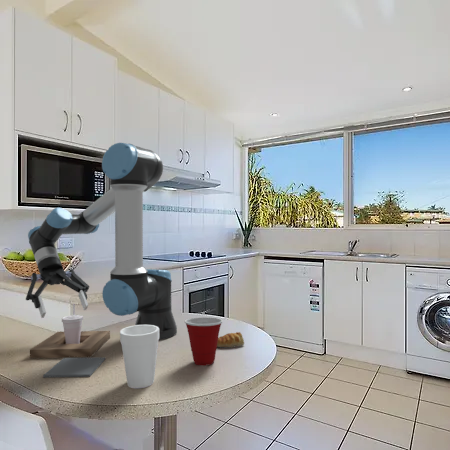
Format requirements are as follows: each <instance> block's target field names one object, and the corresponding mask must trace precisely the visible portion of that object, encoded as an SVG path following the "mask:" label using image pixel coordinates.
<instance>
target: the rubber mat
mask: <svg viewBox="0 0 450 450" xmlns="http://www.w3.org/2000/svg"><path fill="white" fill-rule="evenodd" d="M105 360H106V356H103V357H102V356H101V357H69V358H62V359H60V361H58V362H57V363H56V364H55V365H53V367H51V368H50V369H49V370H48V371H46V372H45V373H44V374H43V375H42V378H89V377H91V376H92V375H93V374H94V372H95V371H97V369H98V368H100V366H101V365H102V363H104V362H105Z"/></svg>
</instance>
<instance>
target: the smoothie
mask: <svg viewBox="0 0 450 450" xmlns="http://www.w3.org/2000/svg"><path fill="white" fill-rule="evenodd" d="M75 307H76V304H75V303H73V304H72V315H71V314H70V315H66V316H63V317H62V318H61V323H62V325H63V326H62V327H63V332H64V333H65V340H66V343H65V344H81V343H80V335H81V331H82V325H83V320H84V315H82V314H76V308H75Z"/></svg>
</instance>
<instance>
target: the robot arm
mask: <svg viewBox="0 0 450 450" xmlns="http://www.w3.org/2000/svg"><path fill="white" fill-rule="evenodd" d="M101 169H102V171H103V173H104V174H105V176H106V177H107V178H109V187H110V189H109V190H108V191H106V192H105V193H103V194H102V195H101V196H100V197H99V198H97V199H96V200H95V201H94V202H92V203H91V205H89V206H88V207H86V209H84V210H83V211H81V213H78V214H76V213H75V214H72V213H71V212H70V211H69V210H67V209H65V208H62V207H54V208H53V209H52V210H51V211H50V213H48V215H46V218H45V219H44V221H43V222H42V224H41V225H37V226H35V227H33V228H32V229H30V230H28V233H27V238H28V242H29V246H30V248H31V251H32V253H33V256H34V257H33V258H34V259H35V263H36V265H37V270H38V272H39V274H37V273H36V272H33V273H31V278H30V285H29V287H28V291H27V294H26V297H25V301H31V303H33V305H34V308H35V309H38V311H39V314H40V317H41V319H43V318H45V316H46V313H47V311H46V309H45V305H44V302H43V298H42V296H41V294H42V293H43V291H44V290H45V289H46V288H47V286H48V285H49V286H54V285H60V284H61V285H63V286H66V287H68V288H70V289H71V290H73V291H75V292H76V293H78V296H77V297H78V298H79V301H80V303H81V306H82V308H83V311H87V309H88V307H89V303H88V300H87V299H88V295H87V292H88V291H89V288H90V285H89V284H88V283H87V282H85V280H83V279H82V278H81V277H80V276H79V275H78V274H76V272H75V271H74V269H72V268H70V270H68V271H65V270H64V268H63V264H62V262H61V259H60V256H59V253H58V250H57V248H56V243H57V241H58V240H59V239H60V238H61V236H62V235H78V234H79V235H81V234H82V235H90V234H93V233H96V232H97V231H98V229H99V228H100V224H101V223H102V222H103V221H104V220H106V219H107V218H108V217H110V216H111V215H113V213H114V228H115V229H114V230H115V231H114V236H115V237H114V250H115V251H114V254H115V255H114V257H115V259H114V260H115V261H114V264H115V265H114V268H113V269H112V270H111V271H110V275H109V277H110V279H109V280H108V281H107V282H106V283H105V285H104V286H103V288H102V293H101V294H102V295H101V296H102V300H103V304H104V305H105V307H106V308H107V309H108V310H109V312H110V313H112V314H114V315H115V316H120V317H121V316H122V317H123V316H127V315H133V314H135V313H137V312H138V313H137V316H136V319H135V320H136V321H135V324H134V326H135V325H154V326H157V327H158V328H159V340H165V339H169V338H172V337H174V336H175V335H176V334H177V333H178V330H177V329H178V328H177V327H178V325H177V323H176V321H175V318H174V317H175V316H174V314H173V312H172V274H171V271H170V270H167V269H148V268H145V267H144V262H143V261H144V259H143V258H144V257H143V255H144V254H143V252H144V249H143V248H144V247H143V246H144V245H143V244H144V243H143V241H144V240H143V239H144V237H143V236H144V235H143V233H144V232H143V231H144V228H143V225H144V224H143V223H144V220H143V218H144V217H143V214H144V213H143V206H144V204H143V203H144V202H143V200H144V199H143V193H145V192H147V191H148V190H150V189H152V187H154V186H155V185H156V184H157V183H158V182H159V180H160V179H161V178H162V175H163V172H164V171H163V170H164V165H163V161H162V159H161V157H160V156H159V154H157V152H155V151H153V150H151V149H147V148H144V147H140V146H137V145H134V144H132V143H127V142H126V143H125V142H117V143H114V144H111V146H110V147H108V148H107V149H106V151H105V152H104V155H103V157H102V161H101ZM39 279H40V281H43V282H42V283H41V284H40V286H39V287H38V288H37V290H36V291H35V292H34V294H33V291H34V289H35V285H36V282H37V281H39Z"/></svg>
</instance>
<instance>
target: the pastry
mask: <svg viewBox="0 0 450 450" xmlns="http://www.w3.org/2000/svg"><path fill="white" fill-rule="evenodd" d="M244 340H245V339H244V338H243V333H241V331H239V332H238V331H237V332H231V333H226V334H224V335H222V336H218V342H217V348H219V347H231V348H235V347H234V346H240V347H242V346H241V345H243V346H244V345H245V341H244Z"/></svg>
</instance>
